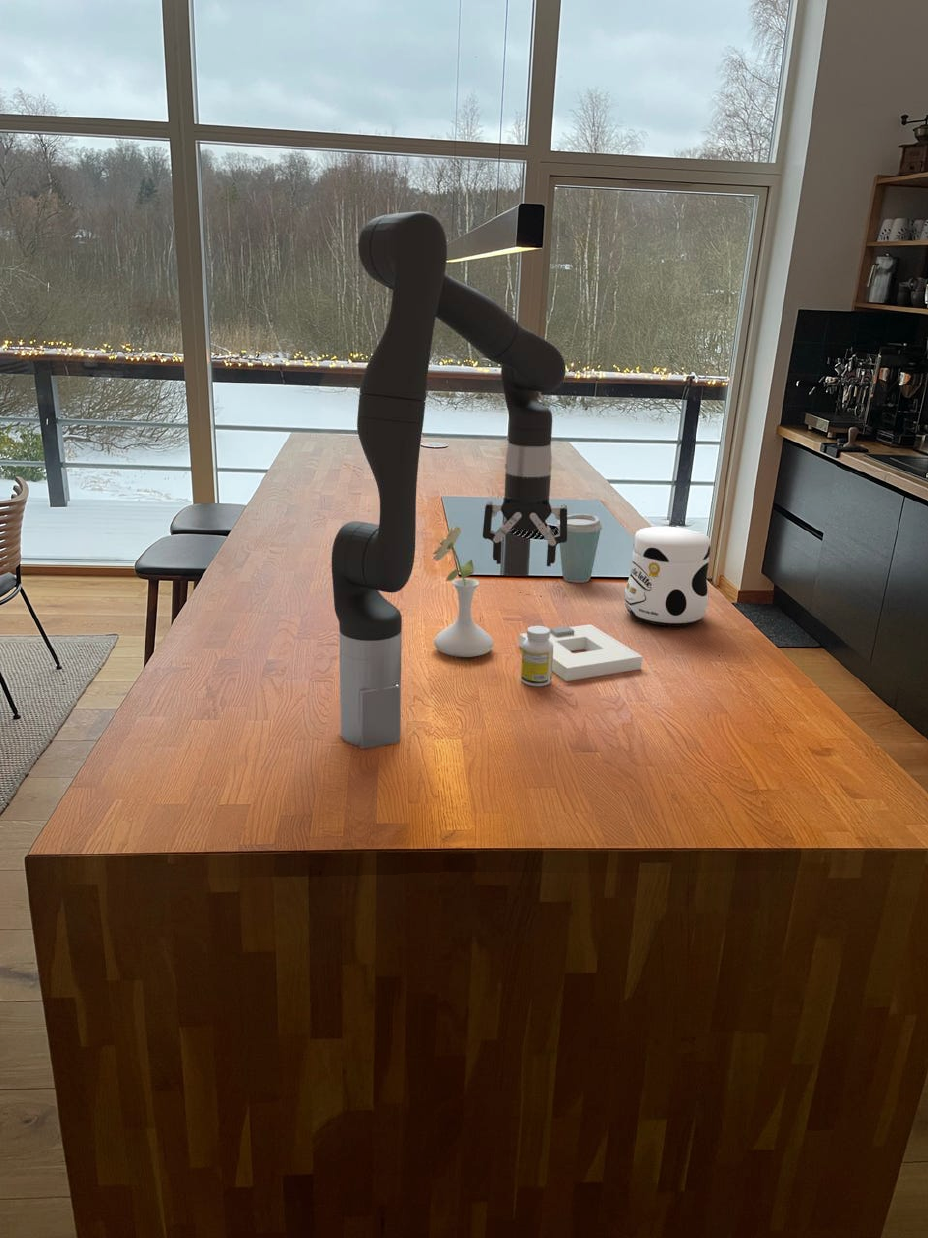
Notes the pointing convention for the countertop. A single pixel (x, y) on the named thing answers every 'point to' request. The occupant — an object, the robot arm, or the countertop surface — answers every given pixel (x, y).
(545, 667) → the supplement bottle
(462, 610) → the flower in vase
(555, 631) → the socket plate
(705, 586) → the milk container
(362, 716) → the robot arm
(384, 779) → the countertop surface
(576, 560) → the disposable coffee cup
